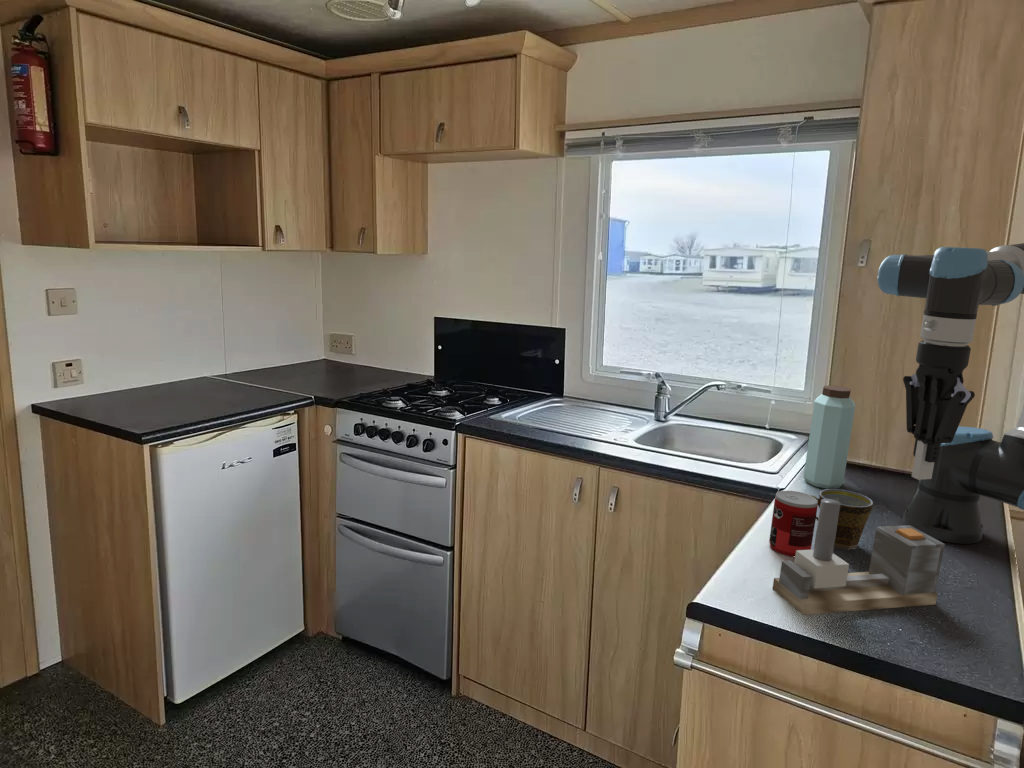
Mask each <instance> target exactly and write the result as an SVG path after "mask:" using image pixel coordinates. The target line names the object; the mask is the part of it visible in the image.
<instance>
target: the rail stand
mask: <svg viewBox="0 0 1024 768" xmlns="http://www.w3.org/2000/svg"><path fill="white" fill-rule="evenodd" d="M875 527H876V529H875V535H874V540H873V546H872V551H871V558H870V564H869V570H868V571H861V572H859V571H858V572H848V575H847V581H846V586H842V587H828V588H813V587H812V586H811V585H810V583H811V576H810V575H809V574H807V573H806V572H805V571H803V570H802V569H801V568H799V567H798V566H797V565H796V564H794V562H793V561H792V560H790V559H789V560H782V561H781V565H780V571H779V577H774V578H773V582H772V589H773V590H774V591H775V592H776V593H777V594H778V595H779V596H780V597H782V598H783V599H784V600H785V601H786V602H788V603H789V604H790V605H791V606H793V607H794V608H795V609H796V610H797V611H798V612H799V613H800V614H801V615H803V616H809V615H819V614H830V613H831V614H833V613H845V612H847V613H848V612H858V611H869V610H871V611H872V610H881V609H883V610H884V609H892V608H893V609H895V608H907V607H920V606H921V607H922V606H929V605H931V606H932V605H936V604H937V600H938V599H937V598H938V593H937V592H936V591H937V587H938V586H937V585H938V582H939V581H938V580H939V575H940V572H941V571H940V570H941V566H942V561H943V555H944V550H945V546H946V545H945V543H943V541H941V540H937V539H934V538H933V537H931V536H929V535H927V534H925V533H923V532H921V531H920V530H918V529H916V528H914V527H912V526H910V525H904V524H903V525H885V526H875ZM907 528H912V529H914V530H915V531H917V532H919V533H921V534H923V535H924V539H919V540H908V539H906V538H904V537H902V536H901V535H899V534H897V533H896V531H897V529H907Z"/></svg>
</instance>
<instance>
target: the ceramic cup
mask: <svg viewBox="0 0 1024 768" xmlns="http://www.w3.org/2000/svg"><path fill="white" fill-rule="evenodd" d="M818 494H819V498H818V497H816V495H812V494H811V495H810V494H809V495H810V496H812V497H814V498H816V499H817V500H818V508H819V509H820V505H821V500H822V499H832V500H836V501H838V502H840V503H841V504H840V511H839V517H838V523H837V530H836V536H835V542H834V549H835V548H837V549H838V550H841V549H844V550H843V551H851V550H850V549H852V550H855V549H854V548H856V549H857V548H858V545H859V543H860V540H861V537H862V534H863V531H864V529H865V526H866V524H867V522H868V519H869V517H870V515H871V512H872V508H873V506H874V502H873V500H872V499H871V498H869V497H868V496H866V495H863V494H861V493H858V492H855V491H851V490H845V489H840V488H834V489H826V488H825V489H822V490H820V491H819V493H818ZM818 518H819V516H816V520H817V522H818ZM837 549H836V550H837Z"/></svg>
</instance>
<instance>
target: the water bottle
mask: <svg viewBox="0 0 1024 768" xmlns="http://www.w3.org/2000/svg"><path fill="white" fill-rule="evenodd" d="M851 391H852V389H851V388H848V387H845V386H838V385H824V386H823V389H822V393H821V394H820V395H819V396H817V397H816V398H815V399H814V401H813V402H814V403H813V411H812V416H811V421H810V422H811V423H810V430H809V438H808V444H807V449H806V450H807V451H806V457H805V464H804V471H803V480H804V481H805V482H806V483H807V484H810V485H811V486H813V487H818V488H822V489H825V490H826V489H840V487H842V486H843V484H844V481H845V474H846V467H847V462H848V455H849V449H850V442H851V438H852V437H851V435H852V431H853V430H852V429H853V424H854V418H855V411H856V403H855V402H854V399H852V398H851Z"/></svg>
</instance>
